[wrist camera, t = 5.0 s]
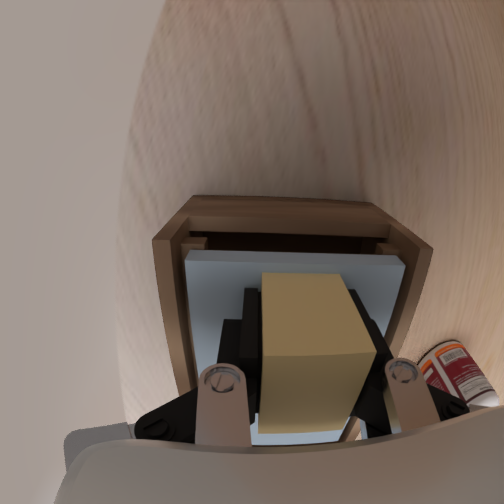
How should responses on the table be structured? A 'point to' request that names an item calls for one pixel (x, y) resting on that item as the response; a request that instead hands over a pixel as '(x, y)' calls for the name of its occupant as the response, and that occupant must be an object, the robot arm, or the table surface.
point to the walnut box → (279, 240)
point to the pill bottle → (458, 375)
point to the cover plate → (242, 273)
